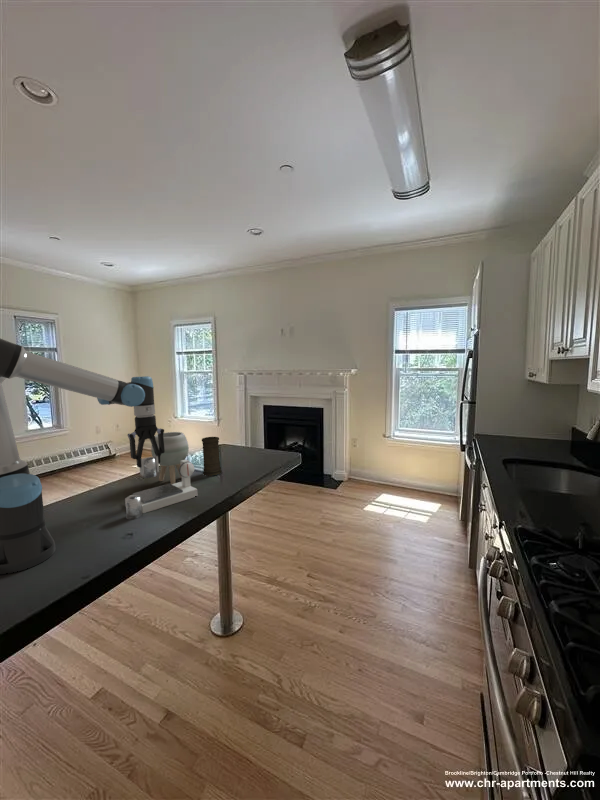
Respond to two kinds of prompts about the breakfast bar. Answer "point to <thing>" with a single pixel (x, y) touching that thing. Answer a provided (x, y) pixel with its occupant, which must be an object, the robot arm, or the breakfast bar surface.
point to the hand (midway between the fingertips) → (149, 473)
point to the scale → (185, 485)
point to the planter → (172, 453)
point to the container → (211, 456)
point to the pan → (158, 493)
